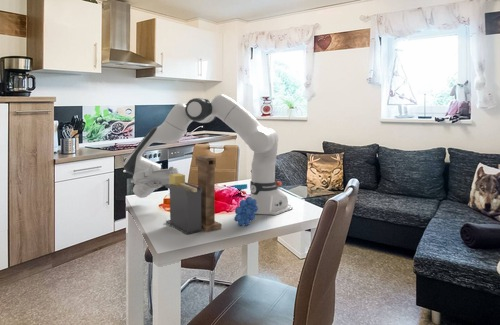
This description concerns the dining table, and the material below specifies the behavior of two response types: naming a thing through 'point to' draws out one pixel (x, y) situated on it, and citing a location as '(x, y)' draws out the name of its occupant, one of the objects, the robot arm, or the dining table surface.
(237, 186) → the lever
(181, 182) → the yellow rectangular bar
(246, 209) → the grapes
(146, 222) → the dining table surface
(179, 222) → the cradle
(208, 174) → the stand
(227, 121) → the robot arm
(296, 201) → the dining table surface
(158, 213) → the dining table surface
